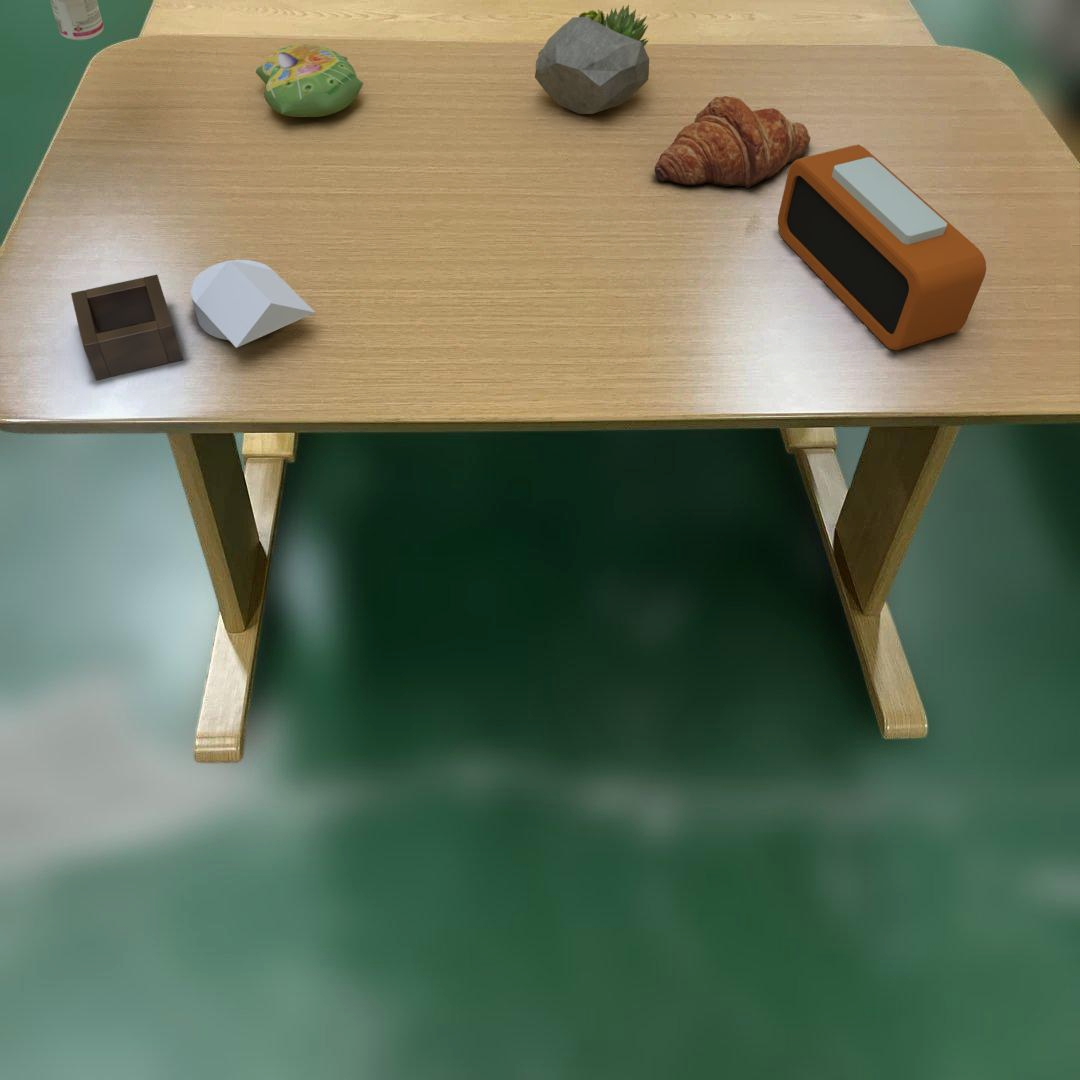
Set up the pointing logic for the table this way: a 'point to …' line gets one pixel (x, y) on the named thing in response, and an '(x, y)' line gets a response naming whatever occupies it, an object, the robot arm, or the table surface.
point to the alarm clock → (880, 246)
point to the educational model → (308, 81)
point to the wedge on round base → (244, 301)
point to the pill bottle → (78, 29)
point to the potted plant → (594, 61)
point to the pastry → (732, 146)
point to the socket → (129, 343)
